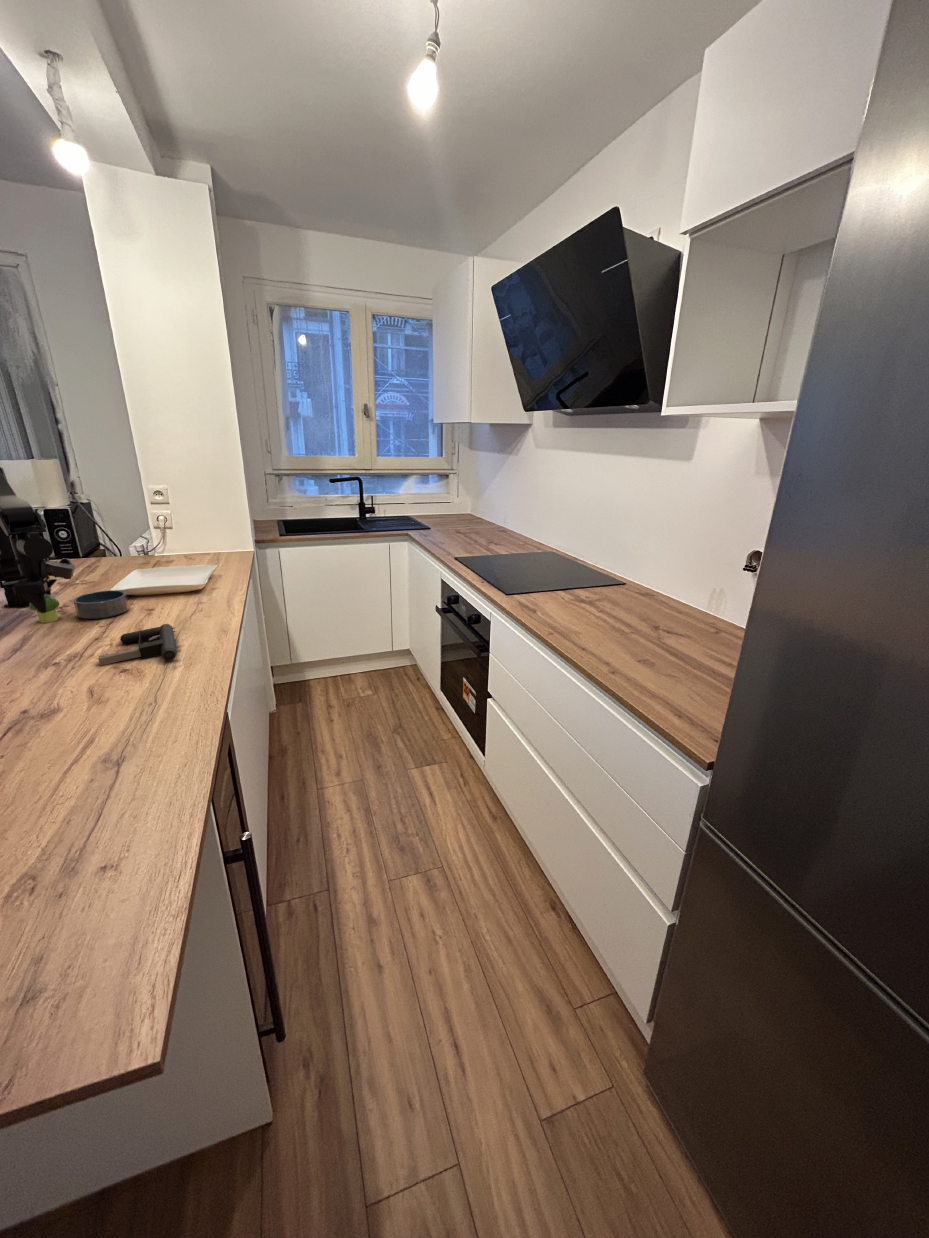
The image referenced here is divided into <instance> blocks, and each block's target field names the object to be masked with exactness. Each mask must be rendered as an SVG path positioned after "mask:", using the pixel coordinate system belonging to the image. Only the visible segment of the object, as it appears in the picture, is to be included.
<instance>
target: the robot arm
mask: <svg viewBox="0 0 929 1238" xmlns="http://www.w3.org/2000/svg"><path fill="white" fill-rule="evenodd" d="M40 533H47V524H46V522H45V521H44V519H43V517H42V516H41V514H40V512H38V511H37V509H36V508H34V507H33V506H32V505H31V504H30V502H28V501H27V500H25V499H23V498H20V497H18V496H17V494H16V492H15V491H14V489H13V488H12V487H11V485H10V484H9V482H8V479H7V476H6V472H5V470H4V468H3V467H1V466H0V589H3V591H4V592H3V594H4V597H5V599H6V603H4V604H3V607H5V608H7V607H8V608H9V607H10V608H11V607H12V608H13V607H15V608H18V607H19V608H21V607H23V608H24V607H25V608H27V607H29V604H30V603H31V604H32V605H33V606H34V607H35V608H36V609H37V610H38V611H39V612H40V613H46V599H45V594H49V595H51V596H52V587H53V585H54V584H55V583H56V582H57V580H58V579H57V578H62V579H64V580H71V579H72V578H73V577H74V572H75V569H76V565H75V564H74V563H72V562H71V559H70V558H66V557H63V558H61V559H60V561H57V560H55V561H53V560H50V557H51V555H52V554H53V551H54V546H53V544H52V543H51V542H50V541H49V540H48V539H46V538H45V537H42V536H41V534H40ZM51 577H54V578H52V579H51Z"/></svg>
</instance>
